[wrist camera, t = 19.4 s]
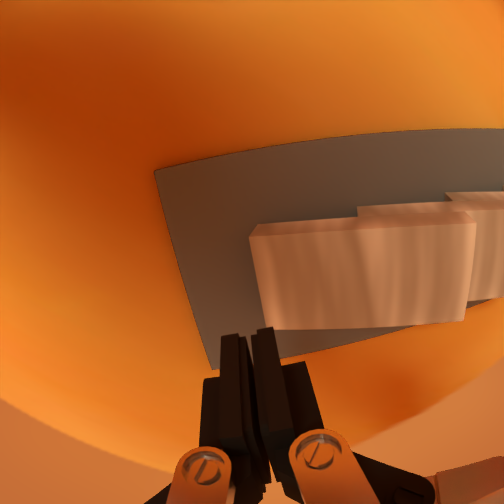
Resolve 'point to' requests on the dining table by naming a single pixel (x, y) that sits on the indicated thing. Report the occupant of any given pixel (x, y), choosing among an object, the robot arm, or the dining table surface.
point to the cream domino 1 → (364, 270)
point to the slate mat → (304, 213)
